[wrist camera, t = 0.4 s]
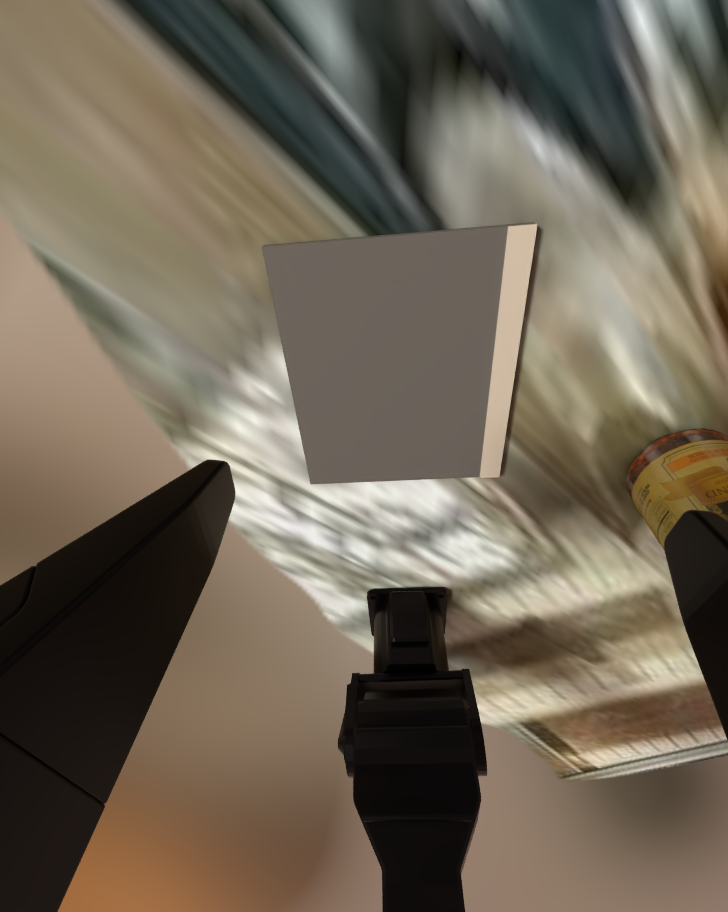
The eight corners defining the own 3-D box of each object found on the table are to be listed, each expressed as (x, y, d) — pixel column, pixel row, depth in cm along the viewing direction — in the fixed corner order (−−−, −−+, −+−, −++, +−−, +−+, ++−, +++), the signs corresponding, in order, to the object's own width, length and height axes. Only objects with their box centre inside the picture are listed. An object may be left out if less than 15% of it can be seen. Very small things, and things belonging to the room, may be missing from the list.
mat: (497, 472, 26) (499, 477, 26) (311, 480, 27) (310, 485, 27) (533, 222, 18) (537, 224, 18) (263, 245, 19) (261, 247, 18)
